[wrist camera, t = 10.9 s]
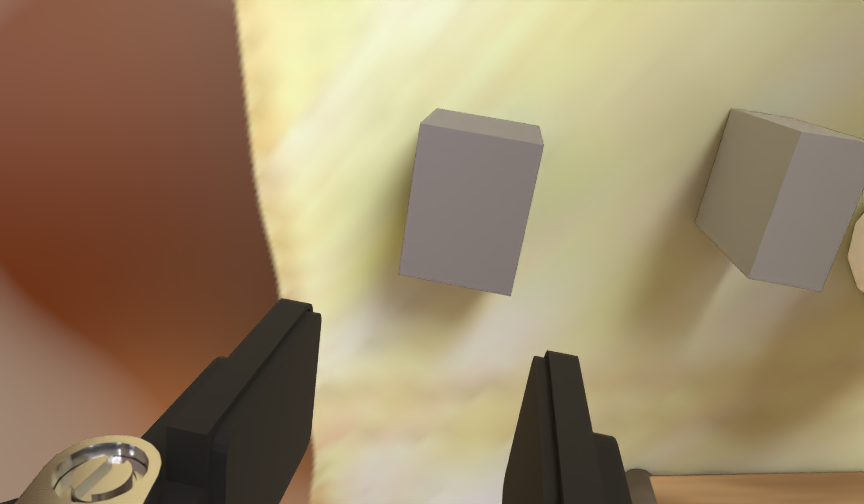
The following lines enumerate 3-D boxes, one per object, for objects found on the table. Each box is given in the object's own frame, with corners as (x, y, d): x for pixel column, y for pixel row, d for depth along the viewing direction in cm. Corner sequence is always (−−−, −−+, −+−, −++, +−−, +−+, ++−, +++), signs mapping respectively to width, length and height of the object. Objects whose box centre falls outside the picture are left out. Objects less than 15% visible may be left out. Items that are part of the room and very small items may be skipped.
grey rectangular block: (538, 125, 26) (543, 144, 21) (511, 253, 28) (510, 296, 23) (437, 108, 26) (420, 123, 22) (417, 235, 28) (398, 274, 24)
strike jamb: (791, 117, 24) (882, 145, 18) (750, 232, 26) (820, 291, 20) (731, 108, 25) (801, 131, 19) (694, 222, 26) (747, 278, 20)
